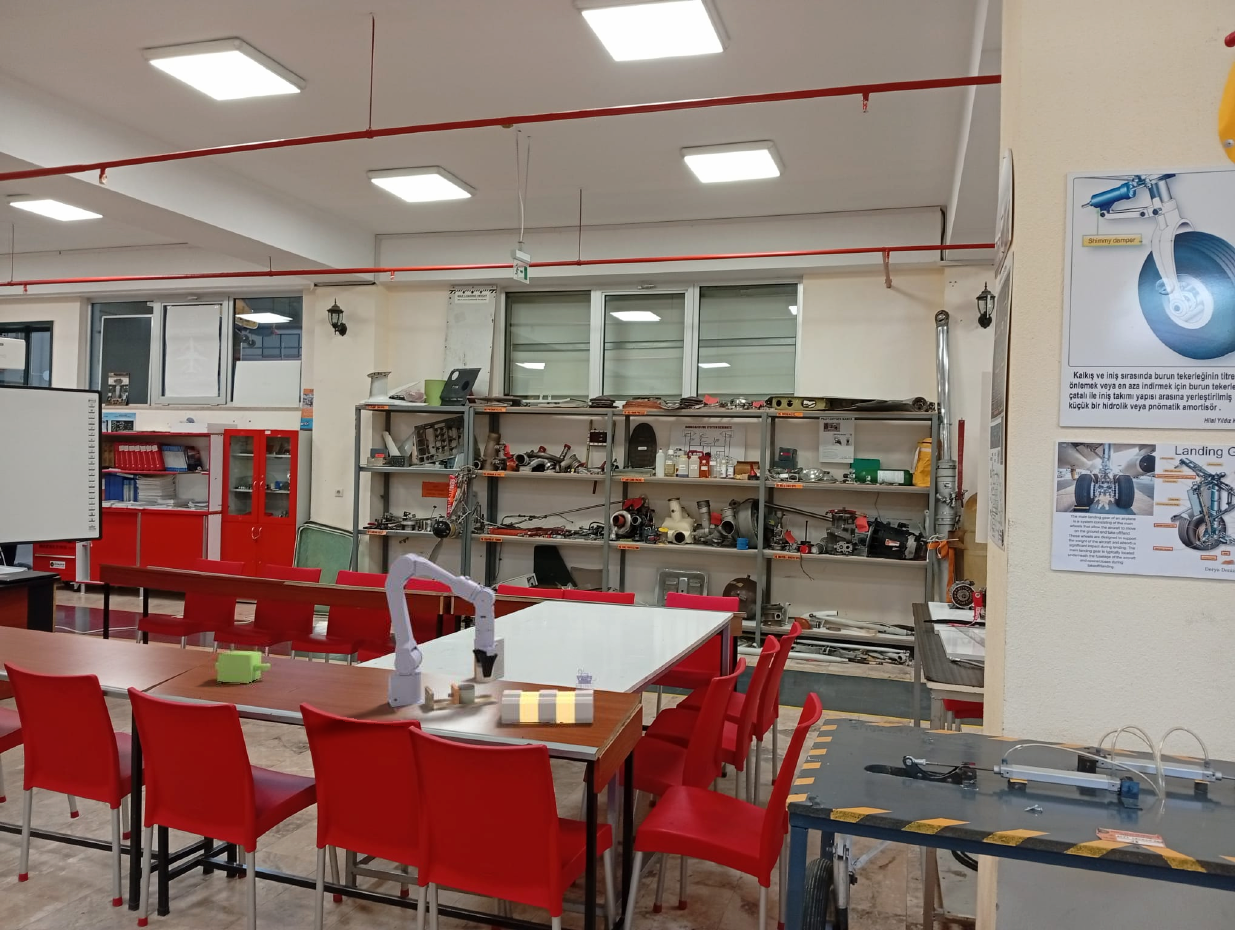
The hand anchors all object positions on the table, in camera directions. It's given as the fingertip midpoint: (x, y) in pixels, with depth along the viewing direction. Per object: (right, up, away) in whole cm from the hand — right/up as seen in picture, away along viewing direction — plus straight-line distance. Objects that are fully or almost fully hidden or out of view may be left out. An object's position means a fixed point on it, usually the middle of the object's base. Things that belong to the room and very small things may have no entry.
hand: (484, 675), depth 261 cm
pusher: (-9, -8, -4) cm, 12 cm away
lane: (-6, -8, -3) cm, 11 cm away
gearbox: (-84, -9, +29) cm, 90 cm away
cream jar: (0, -2, 0) cm, 2 cm away
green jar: (-5, -8, -2) cm, 10 cm away
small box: (-3, -9, +32) cm, 33 cm away
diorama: (+20, -9, -17) cm, 28 cm away
